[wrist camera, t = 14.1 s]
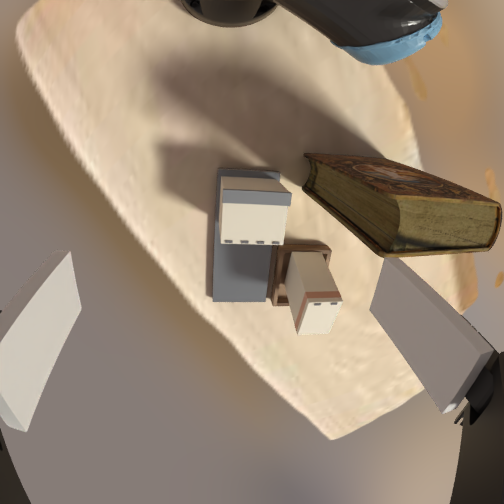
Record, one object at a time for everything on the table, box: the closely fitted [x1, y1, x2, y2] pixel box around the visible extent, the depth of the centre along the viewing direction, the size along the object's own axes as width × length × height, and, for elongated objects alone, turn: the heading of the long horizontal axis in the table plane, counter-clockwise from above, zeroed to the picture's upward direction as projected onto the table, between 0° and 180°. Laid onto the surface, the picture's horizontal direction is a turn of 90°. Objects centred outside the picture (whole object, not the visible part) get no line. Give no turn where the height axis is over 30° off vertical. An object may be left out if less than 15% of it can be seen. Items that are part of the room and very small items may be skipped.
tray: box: [271, 244, 332, 306], centre depth 52 cm, size 11×9×2 cm
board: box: [213, 168, 280, 302], centre depth 48 cm, size 22×9×1 cm, turn 175°
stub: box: [284, 252, 343, 335], centre depth 47 cm, size 7×5×11 cm
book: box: [302, 153, 502, 258], centre depth 35 cm, size 16×6×25 cm, turn 89°
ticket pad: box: [219, 176, 292, 245], centre depth 41 cm, size 7×8×9 cm
